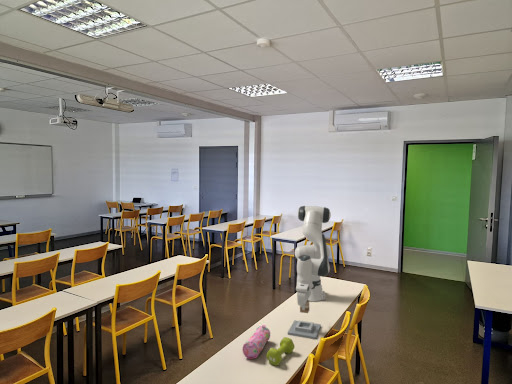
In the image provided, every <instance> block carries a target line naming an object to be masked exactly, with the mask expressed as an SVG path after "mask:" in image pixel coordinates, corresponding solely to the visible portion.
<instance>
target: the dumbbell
mask: <svg viewBox="0 0 512 384" xmlns="http://www.w3.org/2000/svg"><path fill="white" fill-rule="evenodd" d="M294 349H295V344H294V340H292V338H290V337H286V336H285V337H282V339H281V341H280V342H279V348H274V347H271V348H270V349H268V351H267V353H266V358H267V361H268V363H269V364H270V365H272V366H275V367H277V366H279V364H281V362H282V359H283V354H284V353H285V354H287V355H288V354H291V353H292V352H293V351H294Z"/></svg>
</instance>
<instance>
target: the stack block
mask: <svg viewBox="0 0 512 384" xmlns="http://www.w3.org/2000/svg"><path fill="white" fill-rule="evenodd" d="M309 312H310V301H309V300H307V302H306V304H305V310H302V306H299V313H302V314H303V313H305V314H308V313H309Z"/></svg>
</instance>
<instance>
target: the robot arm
mask: <svg viewBox="0 0 512 384" xmlns="http://www.w3.org/2000/svg"><path fill="white" fill-rule="evenodd" d="M296 213H297V218H298V220H299V221H301V222H303V225H302V234H303V236H304V237H305V238H306V240H307V241H309V242H310V243H312V244H306V245H305V244H304V245H299V246H298V245H297V246H296V248H295V250H294V257H295V258H296V260H297V262H296V273H297V275H296V287H295V291H296V300H297V301H296V302H297V305H298V306H299V307H300V306H302V310H305V304H306V302H307V300H309V302H320V301H325V300H326V299H327V298H326V292H325V290H323V285H322V279H321V277H323V278H325V277H326V276H327V275H329V274H330V269H331V267H330V263H329V257H330V255H331V250H330V248H329V246H328V245H327V240H326V236H325V234H323V232H322V229H323V224H326V223H328V222H329V221H330V220H331V216H332V214H331V211H330V208H328V207H326V206H324V207H322V206H316V205H314V206H312V205H310V206H305V205H302V206H300V207H299V208H298V210H297V212H296Z"/></svg>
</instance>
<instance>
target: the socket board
mask: <svg viewBox="0 0 512 384" xmlns="http://www.w3.org/2000/svg"><path fill="white" fill-rule="evenodd" d="M321 325H322V324H319V323H314V322H312V321H304V320H294V321H293V322H292V324H291V325H290V328H289V329H288V331H287V335H289V336H295V337H299V338H300V337H301V338H306V339H312V340H316V339H317V338H318V335H319V332H320V330H321Z"/></svg>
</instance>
